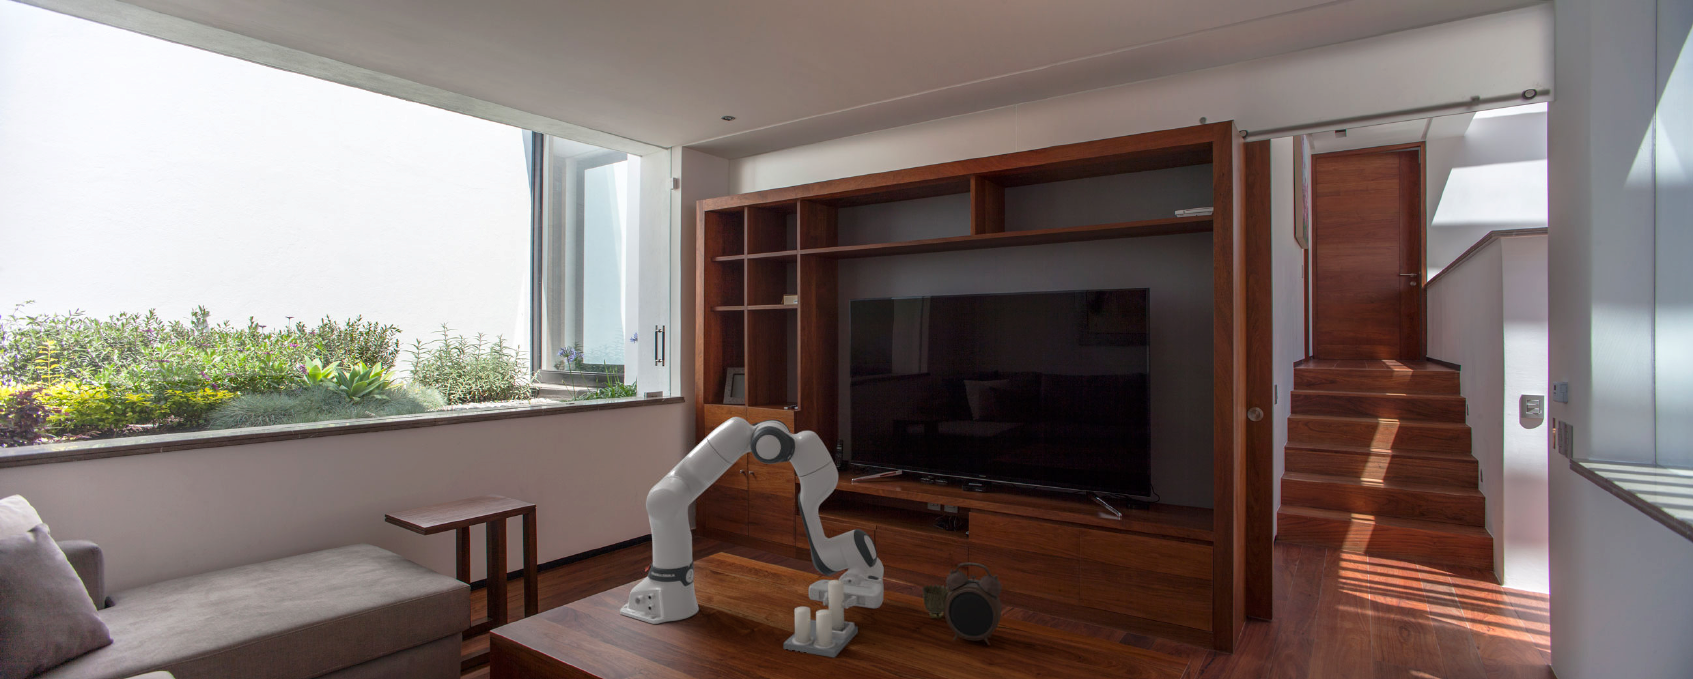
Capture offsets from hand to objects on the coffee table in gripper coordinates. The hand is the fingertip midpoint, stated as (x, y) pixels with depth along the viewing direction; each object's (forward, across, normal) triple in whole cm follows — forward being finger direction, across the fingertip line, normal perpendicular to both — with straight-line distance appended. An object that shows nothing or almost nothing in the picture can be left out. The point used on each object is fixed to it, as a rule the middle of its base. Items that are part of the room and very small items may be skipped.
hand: (834, 604), depth 190 cm
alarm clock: (-11, +34, +9) cm, 37 cm away
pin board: (+2, -3, +9) cm, 10 cm away
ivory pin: (-1, 0, +7) cm, 7 cm away
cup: (-23, +21, +9) cm, 32 cm away
